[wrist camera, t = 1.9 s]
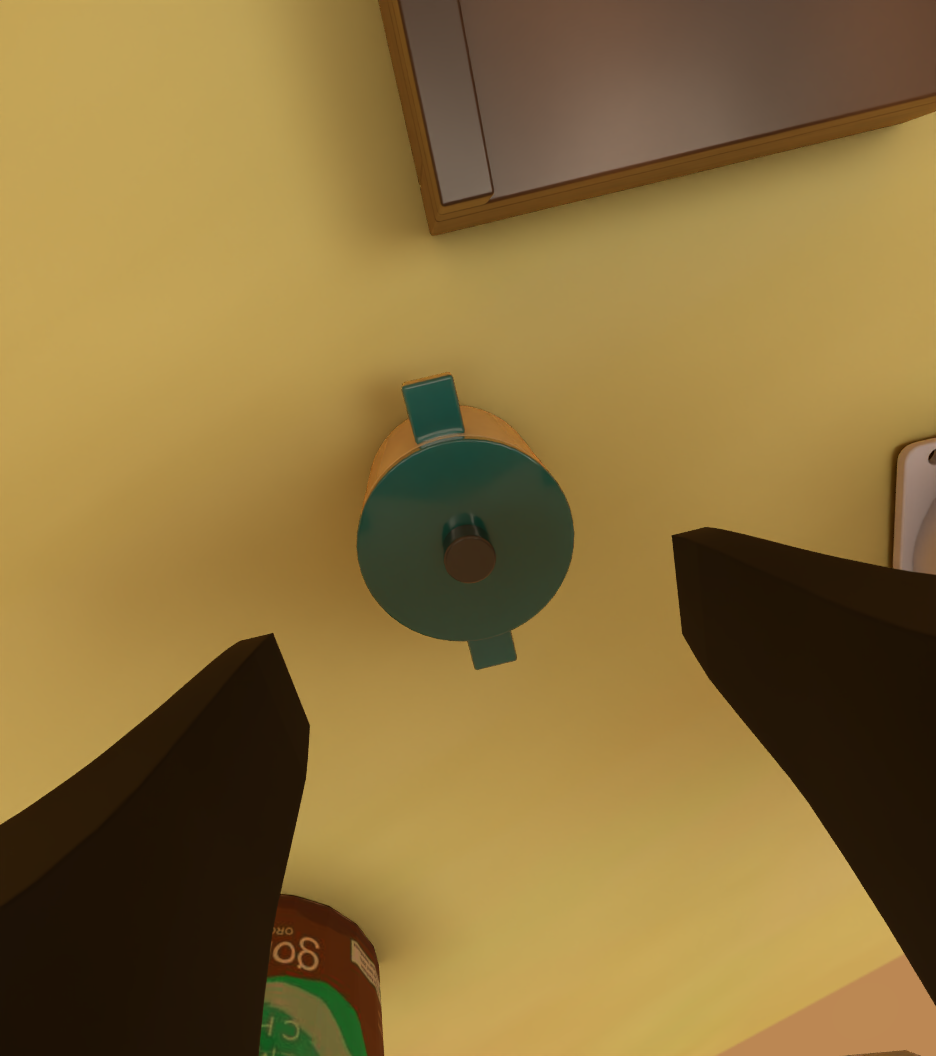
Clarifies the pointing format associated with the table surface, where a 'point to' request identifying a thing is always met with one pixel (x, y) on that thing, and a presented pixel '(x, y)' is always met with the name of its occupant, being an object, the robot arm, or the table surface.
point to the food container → (320, 985)
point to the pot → (461, 525)
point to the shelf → (638, 90)
